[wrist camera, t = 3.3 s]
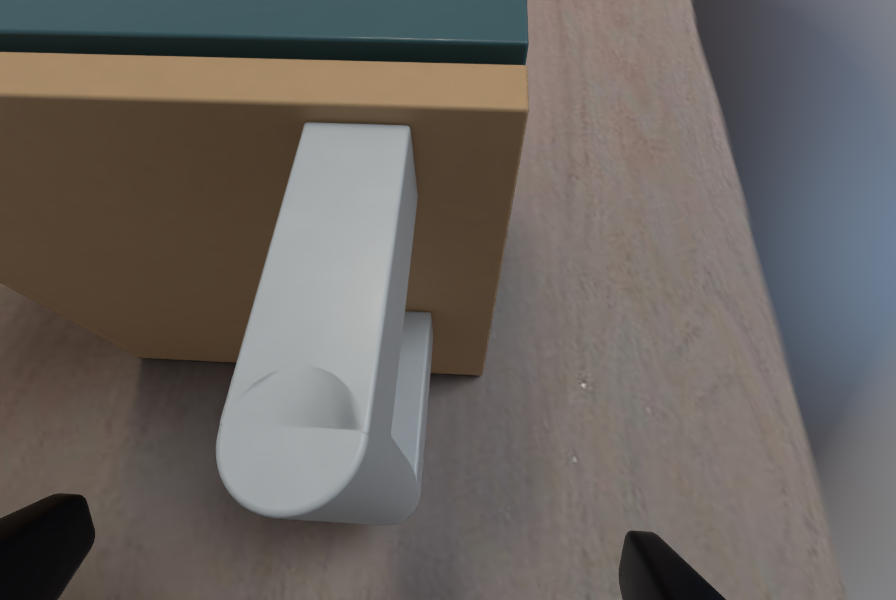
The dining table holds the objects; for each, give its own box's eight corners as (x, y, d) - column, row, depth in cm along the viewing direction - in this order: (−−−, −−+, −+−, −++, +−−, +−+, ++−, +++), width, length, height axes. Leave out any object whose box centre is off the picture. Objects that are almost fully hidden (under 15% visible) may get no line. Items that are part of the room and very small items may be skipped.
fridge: (483, 346, 18) (528, 42, 7) (151, 330, 19) (-317, 23, 7) (487, 158, 22) (520, -211, 11) (221, 150, 23) (-2, -212, 12)
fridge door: (478, 531, 15) (542, 536, 4) (80, 505, 15) (-843, 444, 4) (483, 351, 18) (528, 63, 7) (147, 334, 18) (-317, 41, 7)
